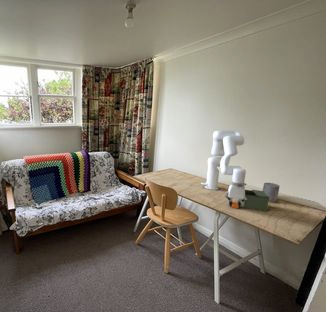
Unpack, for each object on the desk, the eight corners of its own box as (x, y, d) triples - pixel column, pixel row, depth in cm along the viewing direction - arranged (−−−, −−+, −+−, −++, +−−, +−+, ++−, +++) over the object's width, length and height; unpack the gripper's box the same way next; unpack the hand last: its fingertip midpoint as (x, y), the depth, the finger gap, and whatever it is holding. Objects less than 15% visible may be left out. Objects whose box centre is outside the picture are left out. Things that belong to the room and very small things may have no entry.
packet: (238, 208, 146) (238, 205, 145) (232, 207, 147) (232, 204, 147) (236, 205, 151) (236, 202, 150) (230, 204, 153) (230, 201, 152)
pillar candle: (259, 196, 166) (262, 180, 163) (274, 198, 161) (277, 182, 158) (263, 201, 158) (266, 184, 155) (278, 203, 153) (282, 185, 150)
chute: (243, 207, 147) (245, 194, 145) (239, 201, 158) (241, 188, 156) (266, 211, 141) (269, 197, 139) (260, 204, 152) (262, 190, 150)
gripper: (249, 184, 145) (246, 206, 149) (223, 181, 152) (220, 202, 156) (253, 187, 138) (249, 210, 142) (225, 184, 146) (222, 206, 149)
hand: (234, 205), depth 149 cm, fingers open, 4 cm apart
